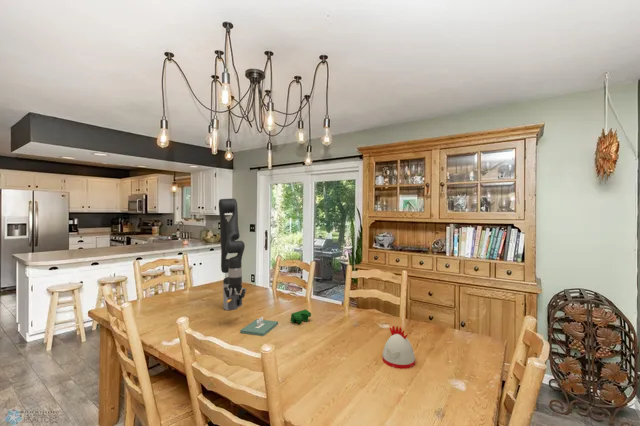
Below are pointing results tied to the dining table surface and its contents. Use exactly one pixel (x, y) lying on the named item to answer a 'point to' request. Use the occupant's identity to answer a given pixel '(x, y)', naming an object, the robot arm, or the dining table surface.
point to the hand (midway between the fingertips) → (235, 305)
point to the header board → (259, 327)
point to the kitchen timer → (398, 350)
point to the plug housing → (233, 302)
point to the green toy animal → (300, 316)
